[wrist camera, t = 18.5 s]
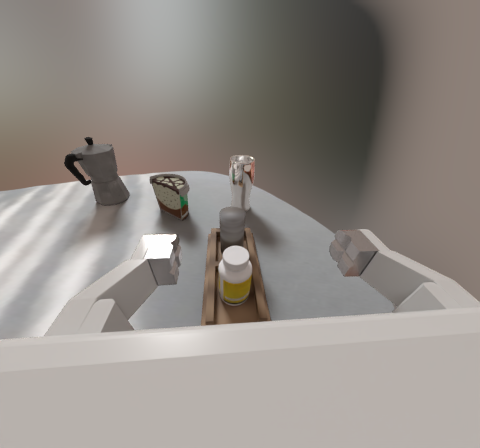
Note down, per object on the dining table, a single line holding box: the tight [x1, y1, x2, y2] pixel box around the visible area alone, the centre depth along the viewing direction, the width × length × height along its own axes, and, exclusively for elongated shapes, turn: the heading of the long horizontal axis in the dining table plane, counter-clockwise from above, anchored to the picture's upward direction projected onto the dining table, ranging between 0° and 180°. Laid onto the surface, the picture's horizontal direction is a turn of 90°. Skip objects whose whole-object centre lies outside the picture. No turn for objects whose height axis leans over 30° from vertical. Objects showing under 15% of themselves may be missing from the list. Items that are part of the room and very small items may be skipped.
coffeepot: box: [64, 137, 130, 205], centre depth 52 cm, size 15×9×18 cm, turn 171°
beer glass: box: [229, 155, 255, 212], centre depth 53 cm, size 7×7×15 cm
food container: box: [150, 174, 189, 221], centre depth 52 cm, size 12×6×10 cm, turn 56°
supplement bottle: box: [218, 246, 252, 306], centre depth 30 cm, size 5×5×10 cm
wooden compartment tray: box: [201, 207, 271, 326], centre depth 35 cm, size 22×11×11 cm, turn 5°
